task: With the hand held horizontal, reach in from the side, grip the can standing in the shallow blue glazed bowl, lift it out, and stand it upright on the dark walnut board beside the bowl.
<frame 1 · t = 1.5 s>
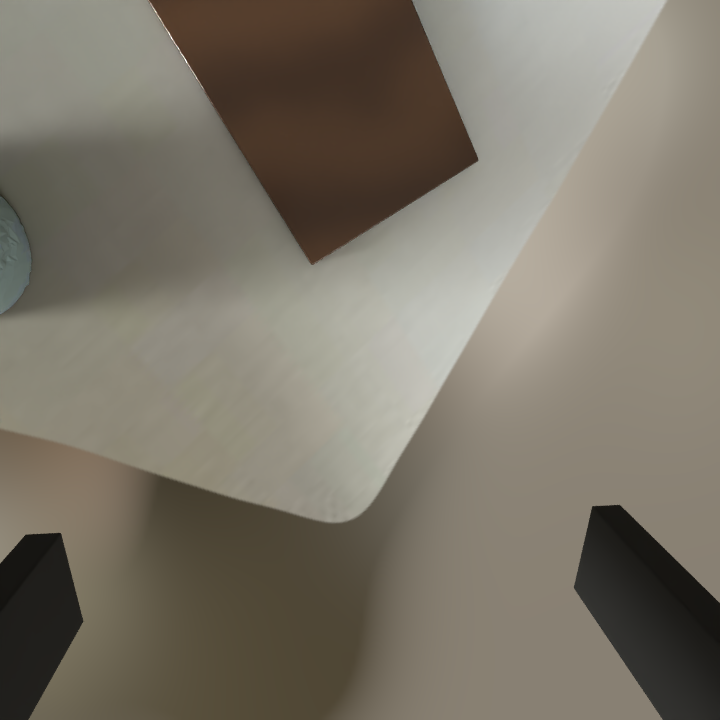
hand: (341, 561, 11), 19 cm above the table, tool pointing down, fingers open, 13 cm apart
board: (315, 64, 24), on the table
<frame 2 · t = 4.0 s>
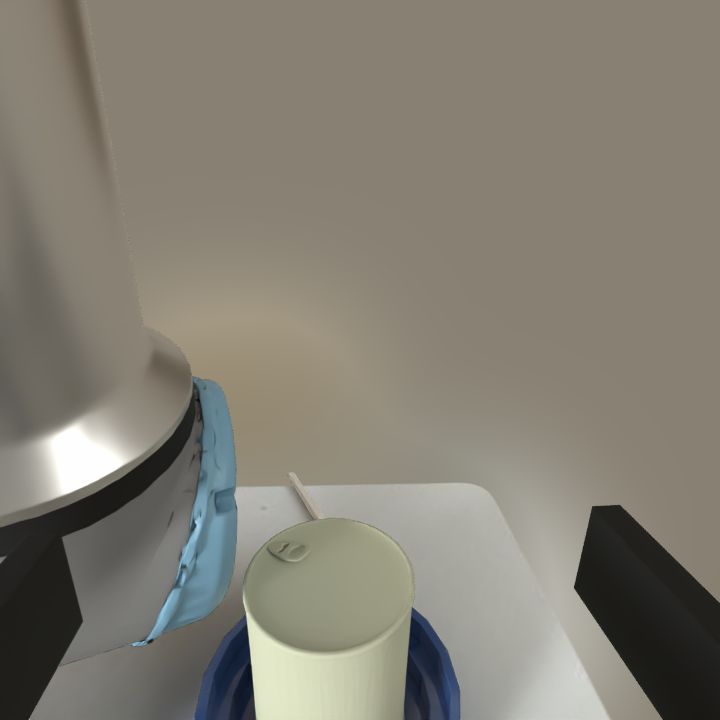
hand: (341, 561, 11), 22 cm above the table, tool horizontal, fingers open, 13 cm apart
fork: (323, 532, 44), on the table
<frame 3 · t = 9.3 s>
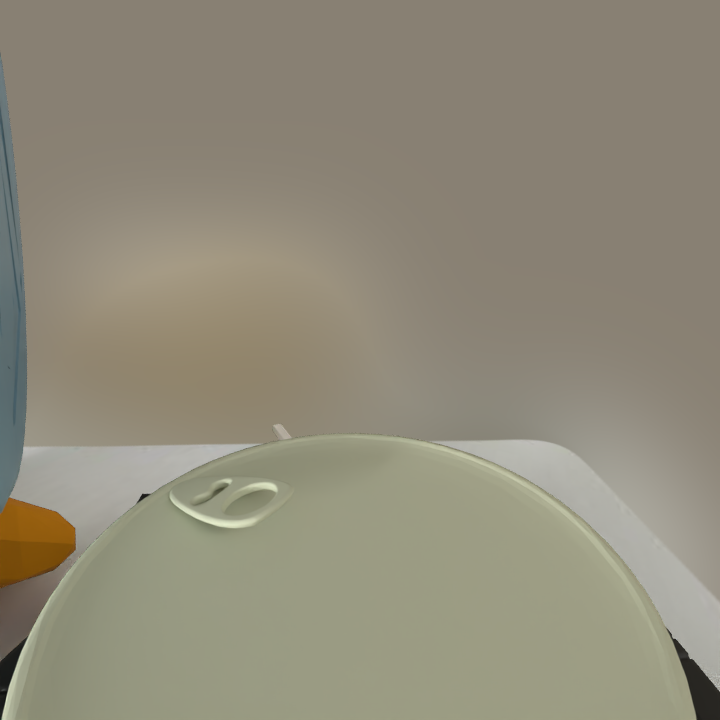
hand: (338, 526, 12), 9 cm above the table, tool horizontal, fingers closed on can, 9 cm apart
when the fingers open (9 cm above the table, at t = 17.1 s): can stays where it is, resting on board.
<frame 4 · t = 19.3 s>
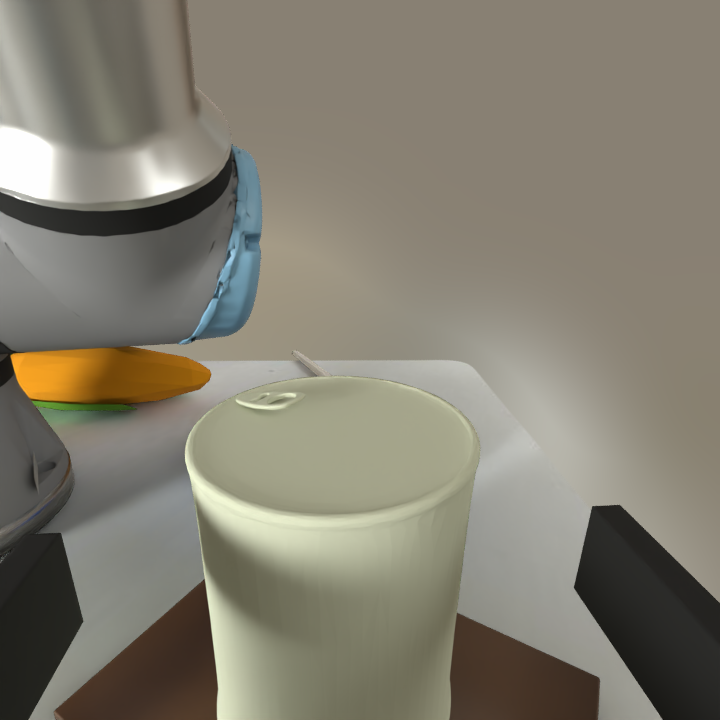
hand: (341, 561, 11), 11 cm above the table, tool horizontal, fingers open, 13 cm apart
can: (335, 681, 18), point 1 cm above the table, touching board
fork: (323, 383, 50), on the table
board: (338, 707, 18), on the table
corn: (116, 406, 44), on the table
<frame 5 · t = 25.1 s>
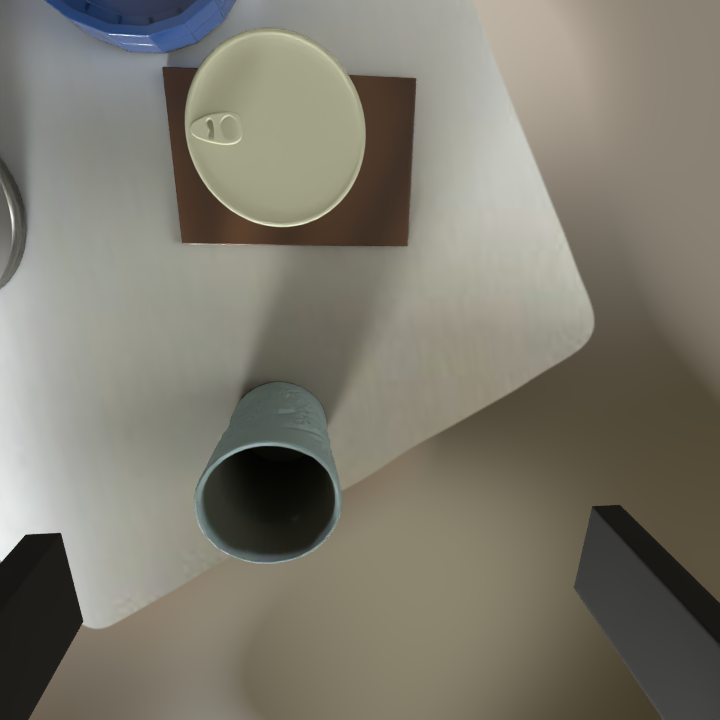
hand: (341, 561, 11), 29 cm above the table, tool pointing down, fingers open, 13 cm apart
can: (289, 157, 33), point 1 cm above the table, touching board
board: (295, 164, 34), on the table
blue cup: (282, 424, 42), on the table
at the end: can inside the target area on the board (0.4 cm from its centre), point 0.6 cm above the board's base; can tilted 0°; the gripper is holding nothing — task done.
